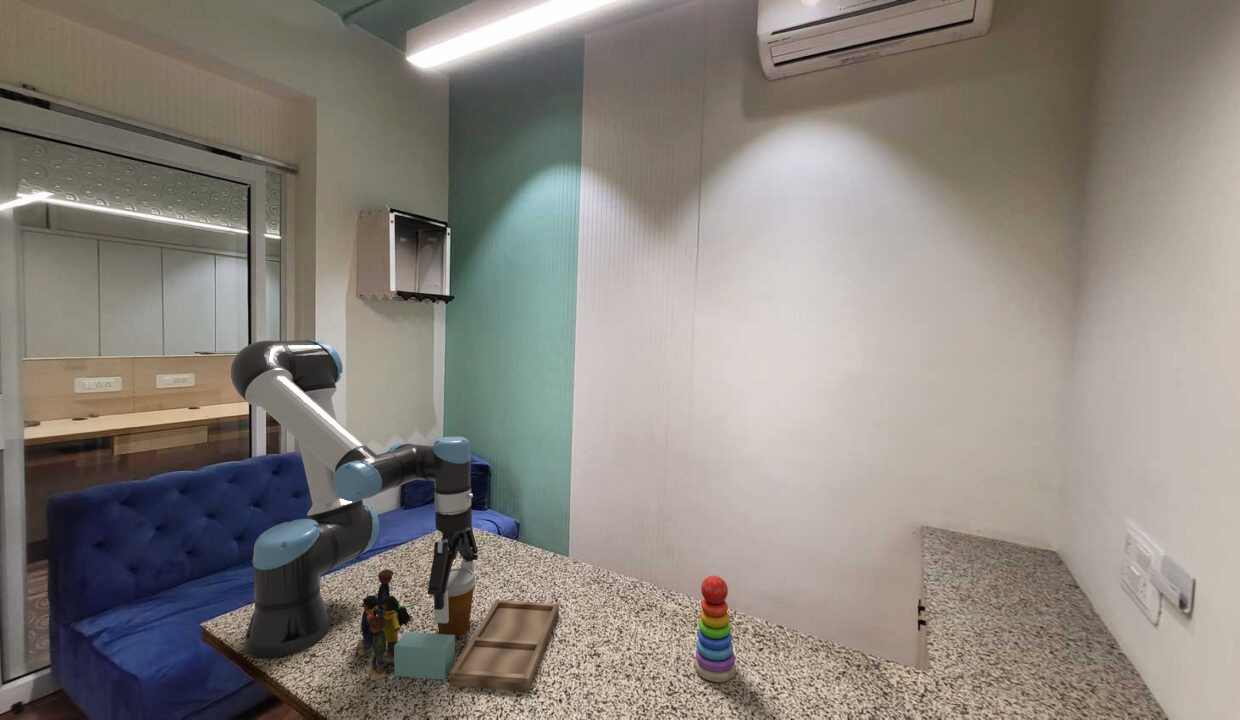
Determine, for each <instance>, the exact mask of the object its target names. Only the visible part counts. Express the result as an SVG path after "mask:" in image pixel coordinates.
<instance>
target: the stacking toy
mask: <svg viewBox="0 0 1240 720" xmlns="http://www.w3.org/2000/svg"><path fill="white" fill-rule="evenodd" d="M700 586H701V587H700V589H701V594H702V597H703V600H702V601H701V605H700V606H701V612H700V620H699V622H698V627H699V629H698V632H697V637H698V638H697V640H696V651H695V658H694V664H693V665H694V669H695V672H697V674H698V675H699V676H700V677H701V678H703V679H705V680H707V681H710V682H714V683H723V682H727V681H729V680H731V679H732V678H733V677H734V676H735V674H736V672H737V671H736V670H737V668H736V667H737V665H736V663H735V661H736V657H735V653H734V651H733V650H734V645H733V643H732V640H733V639H732V633H731V625H730V614H729V613H728V610H729V609H728V608H729V607H728V603H727V602H726V599H727V596H728V594H729V591H728V590H729V588H728V585H727V582H726V581H725V580H724V579H723V578H722V577H720V576H719V575H709V576H707V577H705V578H704V579H703V580H702V582H701V585H700Z"/></svg>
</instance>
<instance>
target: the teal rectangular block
mask: <svg viewBox="0 0 1240 720" xmlns="http://www.w3.org/2000/svg"><path fill="white" fill-rule="evenodd" d="M397 641H398V642H397V643H396V644H395V645H394V661H393V662H394V666H393V668H394V670H393V672H394V676H395V677H405V678H407V677H409V678H417V679H418V678H421V679H432V680H433V679H434V680H442V681H443V680H446V679H447V677H449V672H450V671H451V669H452V667H453V666H454V664H455V663H456V638H455V635H446V634H439V633H431V632H415V631H405V633H404V634H403V635H402V636H401V637H400V638H399V639H398V640H397Z"/></svg>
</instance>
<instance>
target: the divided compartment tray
mask: <svg viewBox="0 0 1240 720" xmlns="http://www.w3.org/2000/svg"><path fill="white" fill-rule="evenodd" d="M559 607H560V604H559V603H550V602H548V603H547V602H535V601H534V602H532V601H519V600H518V601H515V600H505V599H504V600H499V599H495V601H494V603H493V604H492V606H491V607H490V609H489V611H488V612H487V614H486V615H485V617H484V618H483V619H482V621H481V623H479V626H478V628H477V629H476V630H475V632H474V633H473V635H472V637H471V638H470V639H469V641H468V643H467V644H466V646H465V647H464V649H463V651H462V652H461V653H460V655H459V657H458V658H457V659H456V660H455V664H454V666H453V667H452V669H451V671H450V672H449V674H448V677H449V678H448V683H449V684H448V685H449V686H450V687H451V686H452V687H461V688H463V687H464V688H474V689H488V690H489V689H490V690H501V691H513V692H523V693H524V692H525V693H528V692H529V691H530V688H531V686H532V684H533V681H534V678H535V676H536V673H537V670H538V668H539V666H540V663H541V661H542V659H543V657H544V656H543V655H544V653H545V650H546V648H547V645H548V643H549V640H550V638H551V635H552V633H553V630H554V627H555V626H556V622H557V619H558V617H559V612H560V611H559V610H560V608H559Z"/></svg>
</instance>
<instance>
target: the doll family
mask: <svg viewBox="0 0 1240 720" xmlns="http://www.w3.org/2000/svg"><path fill="white" fill-rule="evenodd" d="M377 575H378V577H377V578H378V580H379V583H380V586H379V587H378V591H377V592H378V593H377V596H376V595H375V594H372V595H371V594H369V595H367V596H366V597H364V598H363V599H362V602H360V601H358V603H357V604H359V605H361V606H360V607H361V608H363V612H362V615H361V623H360V629H361V634H362V640H361V641H360V642H359V643H358V648H359V650H358V652H357V654H358V655H359V656H365V655H367V654H369V653H370V652H372V653H373V655H372V658H371V662H370V664H371V665H369V666H368V667H367V668H366V670H365V673H366V674H368V675H370V680H371V681H376V680H380V679H384V677H386V676H387V672H386V671H385V670H384V665H385V662H386V663H392V662H394V645H395V644H396V643H397V642H398V641H399V639H398V634H399V632H400V630H401V627H402V626H406V627H407V626H408V625H409V622H412V620H414V619H415V618H414V617H413V616H411V614H410V613H409V612H408V611H407V608H410V607H412V604H408V605H400V601H399V600H397V598H396V597H395V595H391V594H390V590H391V589H390V585H389V584H390V583H391V581H392V578H393V576H394V572H393V571H392V570H391V569H383V570H381V571H379V573H378V574H377ZM384 656H385V661H384V660H383V659H384Z"/></svg>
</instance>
